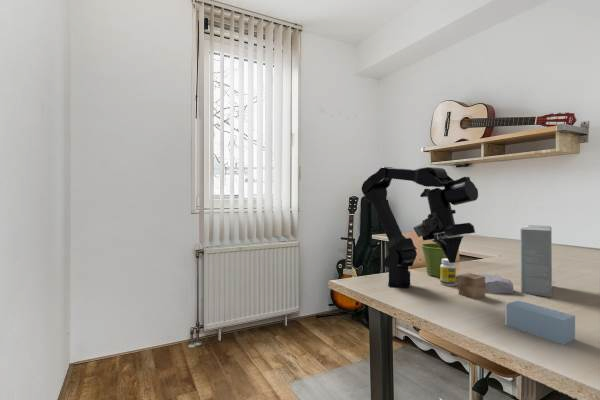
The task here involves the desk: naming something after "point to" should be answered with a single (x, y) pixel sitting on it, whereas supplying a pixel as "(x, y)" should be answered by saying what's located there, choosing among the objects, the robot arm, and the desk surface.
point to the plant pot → (433, 258)
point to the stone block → (497, 284)
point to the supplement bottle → (447, 273)
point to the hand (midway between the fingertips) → (452, 262)
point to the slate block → (540, 321)
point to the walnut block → (472, 285)
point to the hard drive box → (536, 260)
